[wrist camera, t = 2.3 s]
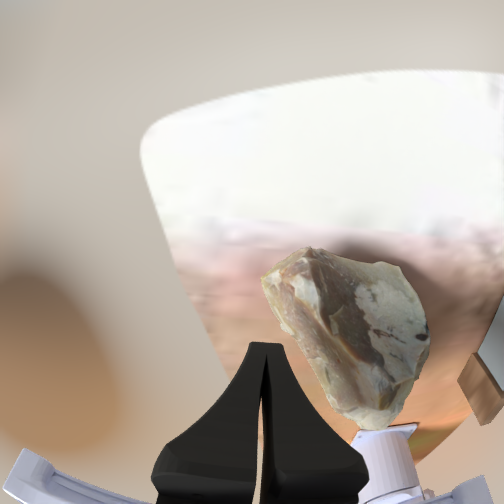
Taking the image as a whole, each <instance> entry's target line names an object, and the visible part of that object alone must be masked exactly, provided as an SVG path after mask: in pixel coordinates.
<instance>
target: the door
mask: <svg viewBox="0 0 504 504" xmlns="http://www.w3.org/2000/svg"><path fill="white" fill-rule="evenodd" d="M477 353H478V354H479V356H480V357H481V358H482V360H483V361H484V363H485V364H486V366H487V367H488V369H489V370H490V372H491V373H492V375H493V376H494V378H495V379H496V381H497V383H498V384H499V386H500V387H501V389H502V391H504V295H503V298H502V300H501V303H500V305H499V308H498V310H497V312H496V315H495V317H494V319H493V321H492V324H491V326H490V328H489V330H488V332H487V334H486V336H485V338H484V340H483V342H482V344H481V346H480V348H479V350H478V352H477Z"/></svg>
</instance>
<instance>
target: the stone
mask: <svg viewBox="0 0 504 504" xmlns="http://www.w3.org/2000/svg"><path fill="white" fill-rule="evenodd" d="M261 282H262V288H263V291H264V293H265V296H266V298H267V300H268V302H269V305H270V307H271V309H272V311H273V313H274V315H275V316H276V317H277V319H278V320H279V321H280V322H281V323H280V326H281V328H282V330H283V331H285V332H287V333H289V334H291V336H292V337H293V338H294V339H295V341H296V342H297V344H298V345H299V347H300V348H301V350H302V352H303V353H304V355H305V357H306V359H307V360H308V362H309V364H310V365H311V367H312V369H313V370H314V372H315V374H316V376H317V378H318V380H319V382H320V384H321V386H322V388H323V390H324V392H325V394H326V397H327V399H328V401H329V403H330V404H331V406H332V408H333V409H334V411H335V412H336V413H339V414H341V415H342V416H344V417H346V418H348V419H350V420H353V421H355V422H356V423H357V425H359V426H360V428H361V429H368V430H376V431H381V430H385V429H386V428H387V427H388V426H389V425H390V423H391V422H392V421H393V420H394V419H395V418H396V417H397V415H398V414H399V413H400V412H401V410H402V409H403V405H404V401H405V399H406V398H407V397H408V395H409V394H410V392H411V390H412V387H413V384H414V381H416V380H417V379H419V375H420V372H421V370H422V367H423V365H424V363H425V361H426V360H427V358H428V355H429V346H430V332H429V329H428V326H427V321H426V315H425V312H424V310H423V307H422V305H421V302H420V300H419V297H418V295H417V293H416V292H415V291H414V289H413V288H412V286H411V284H410V283H409V282H408V281H407V280H406V278H405V277H404V275H403V273H402V271H401V267H399V266H394V265H391V264H389V263H386V262H382V261H380V262H376V263H373V264H371V263H364V262H358V261H355V260H351V259H346V258H343V257H339V256H336V255H334V254H331V253H329V252H327V251H325V250H323V249H312V248H311V247H310V246H309V247H307V248H303V249H300V250H298V251H297V252H295V253H293V254H291V255H290V256H289V257H287V258H286V259H284V260H283V261H281V262H279V263H277V264H276V265H275V266H274V267H273V268H272V269H271V270H269V271H268V272H267V273H266V274H265V275H264V276H262V277H261Z"/></svg>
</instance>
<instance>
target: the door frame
mask: <svg viewBox="0 0 504 504" xmlns="http://www.w3.org/2000/svg"><path fill="white" fill-rule="evenodd" d="M457 382H458V383H459V385H460V387H461V389H462V391H463V393H464V394H465V396H466V398H467V400H468V402H469V404H470V406H471V408H472V410H473V412H474V413H475V416H476V418H477V420H478V422H479V424H480V425H481V426H482V425H485V424H489V423H491V421H492V420H493V419H494V418H495V416H496V415H497V414H498V412H499V411H500V410H501V409H502V407H503V406H504V391H502V389H501V387H500V386H499V384H498V383H497V381H496V379H495V378H494V376H493V375H492V373H491V372H490V370H489V369H488V367H487V366H486V364H485V363H484V361H483V360H482V358H481V357H480V356H479V354H478V353H472V355H471V357H470V358H469V360H468V362H467V364H466V366H465V368H464V369H463V371H462V373H461V375H460V376H459V378H458V380H457Z"/></svg>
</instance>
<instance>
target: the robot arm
mask: <svg viewBox="0 0 504 504" xmlns="http://www.w3.org/2000/svg"><path fill="white" fill-rule="evenodd" d="M261 396H262V416H263V436H264V447H263V463H262V477H261V478H262V479H261V490H260V503H259V504H493V501H492V498H491V495H490V492H489V489H488V486H487V483H486V481H485V478H484V476H483V475H480V476H478V477H476V478H473V479H471V480H468V481H466V482H463V483H462V484H460V485H458V486H457V487H456V488H455V489H453V490H452V492H449V493H446V494H443V495H440V496H437V497H435V495H434V491H432V490H429V489H426V490H424V493H423V491H422V488H421V486H420V483H419V479H418V476H417V472H416V469H415V465H414V462H413V458H412V455H411V451H410V448H409V445H408V442H407V440H408V439H409V437H410V436H411V435H412V433H413V432H414V431H415V429H416V428H417V424H416V423H414V424H408V425H401V426H393V427H387V428H386V429H385V430H381V431H376V430H368V429H364V430H360V431H358V432H357V434H356V436H355V437H354V439H353V441H352V443H351V444H350V445H349V444H348V443H347V442H345V441H344V440H343V439H342V438H341V437H340V436H339V435H338V434H337V433H336V432H335V431H334V430H333V429H332V428H331V427H330V426H329V425H328V424H327V423H326V422H325V421H324V419H323V418H322V417H321V416H320V415H319V413H318V412H317V411H316V409H315V408H314V407H313V405H312V404H311V403H310V401H309V400H308V398H307V397H306V395H305V393H304V392H303V390H302V388H301V387H300V385H299V383H298V381H297V379H296V377H295V375H294V373H293V371H292V369H291V367H290V365H289V362H288V360H287V357H286V354H285V351H284V347H283V345H282V344H281V343H265V342H251V343H249V347H248V350H247V353H246V355H245V358H244V360H243V362H242V364H241V366H240V368H239V369H238V371H237V373H236V375H235V376H234V378H233V379H232V381H231V382H230V384H229V385H228V387H227V388H226V390H225V391H224V393H223V394H222V395H221V396H220V398H219V399H218V400H217V401H216V403H215V404H214V405H213V406H212V407H211V408H210V409H209V410H208V411H207V412H206V413H205V414H204V415H203V416H202V417H201V418H200V419H199V420H198V421H196V423H194V424H193V425H192V426H191V427H189V428H188V429H187V430H186V431H185V432H183V433H182V434H180V435H179V436H178V437H176V438H175V439H173V440H172V441H170V442H169V443H167V444H166V445H165V447H164V448H163V450H162V451H161V453H160V455H159V456H158V458H157V461H156V463H155V465H154V468H153V472H152V475H151V481H152V483H153V484H154V486H155V488H156V489H157V491H158V493H159V494H158V498H157V502H156V504H252V501H253V495H254V491H255V486H256V476H257V445H258V417H259V407H260V402H261ZM2 488H3V490H4V491H5V492H7V493H8V494H9V495H10V496H12V497H13V498H15V499H16V500H17V501H18V502H20V503H21V504H151V503H147V502H144V501H140V500H136V499H133V498H129V497H126V496H123V495H120V494H117V493H114V492H111V491H108V490H105V489H102V488H99V487H97V486H94V485H91V484H89V483H86V482H84V481H81V480H79V479H76V478H74V477H72V476H70V475H67V474H65V473H63V472H61V471H59V470H56V469H55V468H54V466H53V465H52V464H51V463H50V462H49V461H48V460H46V459H45V458H43V457H41V456H39V455H38V454H36V453H34V452H32V451H30V450H28V449H26V448H24V449H23V450H22V452H21V453H20V455H19V457H18V459H17V461H16V462H15V464H14V466H13V468H12V470H11V472H10V474H9V475H8V477H7V479H6V481H5V483H4V485H3V487H2ZM424 495H425V497H424Z"/></svg>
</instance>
